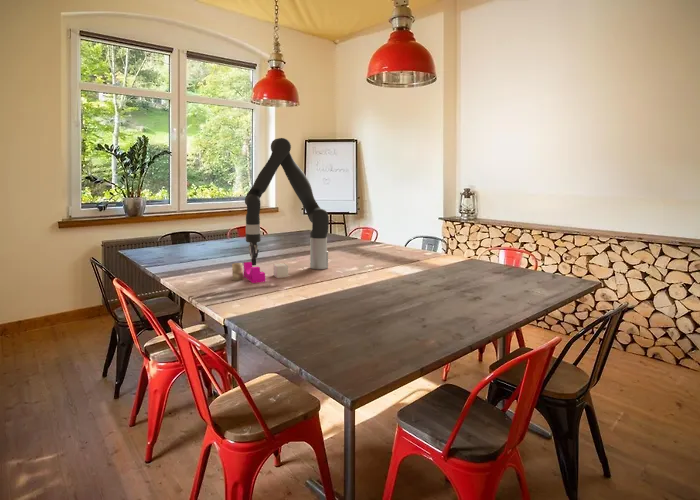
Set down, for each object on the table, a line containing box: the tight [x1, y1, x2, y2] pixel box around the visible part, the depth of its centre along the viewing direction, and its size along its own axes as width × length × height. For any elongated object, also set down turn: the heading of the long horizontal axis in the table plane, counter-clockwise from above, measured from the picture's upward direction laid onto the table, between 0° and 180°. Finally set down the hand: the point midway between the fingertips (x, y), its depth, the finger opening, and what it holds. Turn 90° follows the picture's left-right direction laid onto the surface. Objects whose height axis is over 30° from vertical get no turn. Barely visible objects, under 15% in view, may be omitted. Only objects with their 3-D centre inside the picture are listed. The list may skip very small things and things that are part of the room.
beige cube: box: [272, 262, 289, 279], centre depth 235 cm, size 6×6×6 cm
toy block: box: [243, 261, 266, 284], centre depth 228 cm, size 15×6×8 cm, turn 29°
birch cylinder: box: [231, 262, 244, 282], centre depth 226 cm, size 5×5×8 cm
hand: (253, 265), depth 241 cm, fingers closed
